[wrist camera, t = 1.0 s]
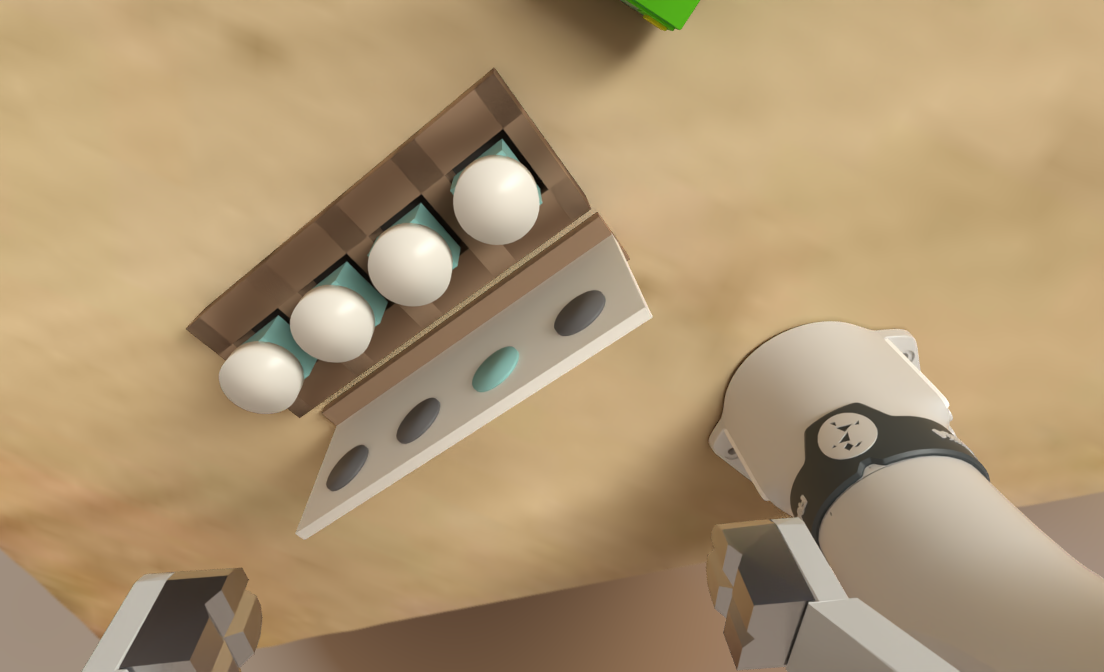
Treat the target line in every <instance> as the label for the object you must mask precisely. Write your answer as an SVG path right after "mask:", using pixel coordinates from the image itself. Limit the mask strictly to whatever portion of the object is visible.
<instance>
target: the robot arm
mask: <svg viewBox="0 0 1104 672" xmlns="http://www.w3.org/2000/svg"><path fill="white" fill-rule="evenodd" d="M948 407H949V402H948V401H947V399H946V398H945V397H944V395H943V394H942V393H941V392H940V391H939V390H938V389H937V388H936V387H935V386H934V385H933V384H932V383H931V382H930V381H929V380H928V379H927V378H926V377H925V376H924V375H923V374H922V373H921V370H920V363H919V356H918V349H917V343H916V340H915V339H914V337H913V336H912V335H911V334H910V333H909V332H908V331H907V330H903V329H886V330H876V331H875V330H869V329H865V328H863V327H860V326H857V325H854V324H850V323H845V322H834V321H827V322H816V323H810V324H806V325H802V326H799V327H796V328H793V329H790V330H788V331H785V332H783V333H781V334H779V335H777V336H775V337H774V338H772V339H770V340H769V341H767V342H766V343H764V344H763V345H761V346H760V347H759V348H758V349H756V350H755V351H754V352H753V353H752V354H751V355H750V356H749V357H748V358H747V359H746V360H745V361H744V362H743V363H742V364H741V366H740V367H739V368H738V370H737V371H736V373H735V374H734V376H733V378H732V379H731V382H730V384H729V386H728V389H727V392H726V395H725V400H724V408H723V413H722V417H721V419H720V421H719V422H718V424H717V425H716V427H715V428H714V430H713V431H712V433H711V435H710V438H709V445H710V447H711V448H712V450H713V451H714V453H715V454H716V455H718V456H719V457H720V458H722V459H723V460H724V461H726V462H727V463H728V464H729V465H731V466H732V467H733V468H735V469H736V470H737V471H739V472H740V473H741V474H742V475H744V476H745V477H746V478H748V479H749V480H750V481H752V482H753V484H754V485H755V487H756V489H757V491H758V492H759V494H760V495H761V497H762V498H763V499H764V500H765V501H771V502H772V503H773V504H774V505H775V506H776V507H778V508H779V509H781V510H782V511H784V512H786V513H787V514H789V515H791V516H792V518H782V519H772V520H768V519H764V520H754V521H745V522H735V523H725V524H716V525H715V526H714V527H713V529H712V534H711V541H712V543H713V546H714V549H713V550H712V551H711V552H710V553H709V554H708V555H707V563H706V575H707V584H708V588H709V592H710V596H711V599H712V602H713V605H714V608H715V609H716V610H717V611H718V612H719V613H720V614H722V615H723V616H724V617H725V618H726V622H725V627H724V632H723V633H724V636H725V639H726V642H727V644H728V647H729V650H730V653H731V655H732V658H733V661H734V664H735V666H736V669H737V670H749V669H761V668H775V667H786V670H787V671H788V672H1104V578H1102V577H1101V576H1099V575H1098V574H1096V573H1094V572H1093V571H1091V570H1090V569H1088V568H1086V567H1085V566H1084V565H1082V564H1081V563H1080V562H1078V561H1077V560H1076V559H1074V558H1073V557H1072V556H1070V555H1069V554H1068V553H1067V552H1066V551H1065V550H1064V549H1062V548H1061V547H1060V546H1059V545H1058V544H1056V543H1055V542H1054V541H1053V540H1052V539H1051V538H1050V537H1048V536H1047V535H1046V534H1045V533H1044V532H1042V531H1041V530H1040V529H1039V528H1038V527H1037V526H1036V525H1035V524H1034V523H1033V522H1031V521H1030V520H1029V519H1028V518H1027V517H1026V516H1025V515H1024V514H1023V513H1022V512H1021V511H1019V510H1018V509H1017V508H1016V507H1015V506H1014V505H1013V504H1012V503H1011V502H1010V501H1009V500H1008V499H1007V498H1006V497H1005V496H1004V495H1003V494H1002V493H1001V492H999V491H998V490H997V489H996V488H995V487H994V486H993V485H992V484H991V483H990V479H989V475H988V473H987V471H986V469H985V468H984V467H983V465H982V464H981V463H980V462H979V461H978V459H977V458H976V457H975V456H974V453H973V452H972V451H971V450H970V449H969V448H968V447H967V446H966V445H965V444H964V443H963V442H962V441H961V440H959V439H958V438H957V437H956V435H955V433H954V431H953V430H952V428H951V427H950V425H949V422H950V421H952V420H953V417H952V414H951V412H950V411H949V409H948ZM731 448H732V449H731ZM831 568H832V569H831ZM832 570H833V571H832ZM835 575H836V576H835ZM836 577H837V578H836ZM248 580H249V579H248V577H247V576H246V574H245V572H244V570H243V568H228V569H212V570H196V571H180V572H167V573H154V574H145V575H143V576H142V577H141V578H140V579H139V580H138V581H136V582H135V584H134V585H133V586H132V588H131V590H130V591H129V593H128V595H127V596H126V598H125V600H124V601H123V603H122V605H121V606H120V608H119V610H118V611H117V613H116V615H115V616H114V618H113V620H112V621H111V623H110V625H109V626H108V628H107V630H106V631H105V633H104V635H103V636H102V638H101V640H100V641H99V643H98V645H97V647H96V648H95V650H94V651H93V653H92V655H91V657H90V658H89V660H88V661H87V663H86V665H85V666H84V668H83V670H82V672H241V669H240V667H241V666H242V665H243V664H244V663H245V662H246V661H247V660H248V659H249V658H250V657H251V656H252V655H253V654H254V653H255V650H256V647H257V644H258V641H259V638H260V634H261V625H262V612H261V605H260V603H259V600H258V598H257V596H256V595H254V594H252V593H250V592H249V591H247V590H245V588H246V585H247V583H248ZM839 582H840V583H839ZM843 589H844V590H843Z"/></svg>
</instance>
